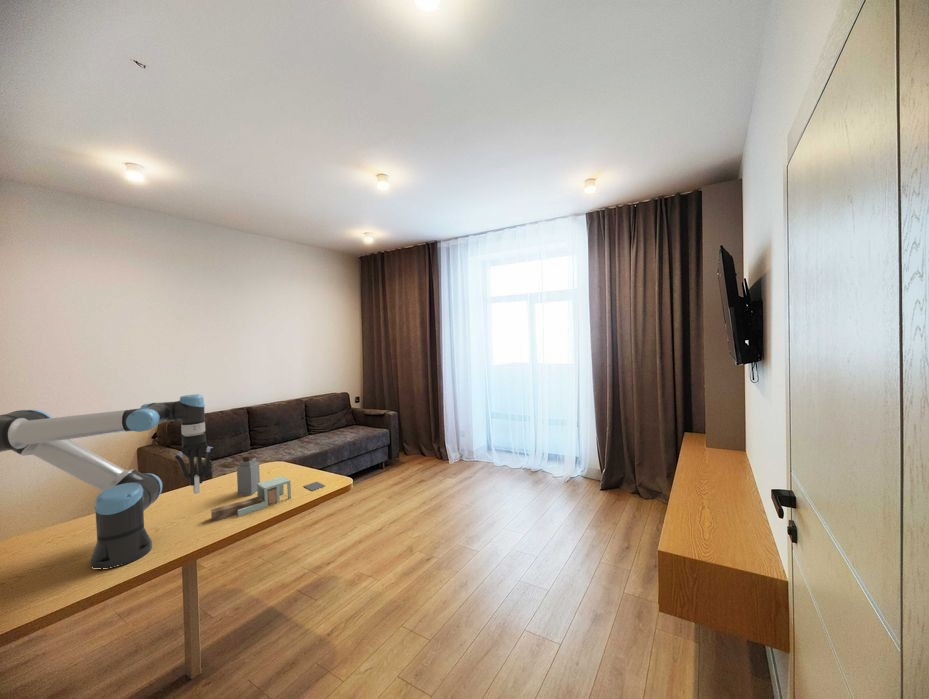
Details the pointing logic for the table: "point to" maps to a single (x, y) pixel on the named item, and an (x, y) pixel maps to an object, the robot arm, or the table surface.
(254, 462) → the perfume bottle
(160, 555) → the table surface
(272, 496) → the block
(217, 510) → the rod
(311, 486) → the trap mat
